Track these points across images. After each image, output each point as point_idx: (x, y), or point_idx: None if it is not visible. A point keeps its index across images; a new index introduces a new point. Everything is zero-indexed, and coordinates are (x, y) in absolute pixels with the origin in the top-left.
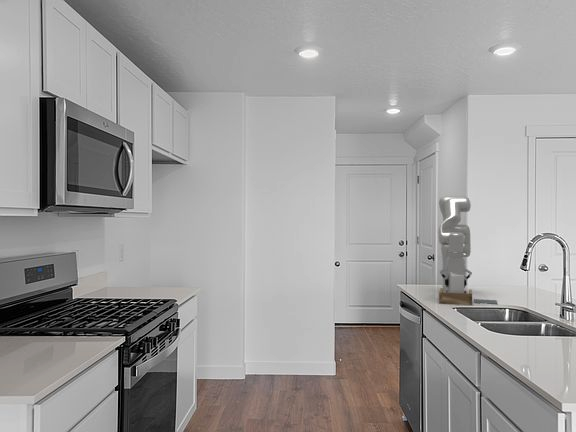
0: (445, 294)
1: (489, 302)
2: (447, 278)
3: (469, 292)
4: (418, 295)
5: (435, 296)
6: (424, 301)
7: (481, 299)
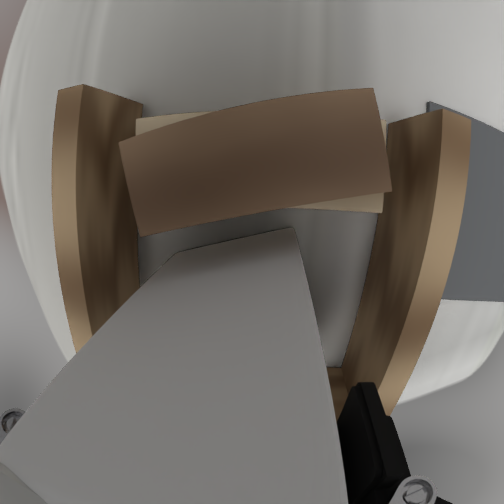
0: None
1: (496, 267)
2: (34, 415)
3: (385, 381)
4: (14, 50)
5: (97, 21)
6: (44, 290)
7: (479, 123)
